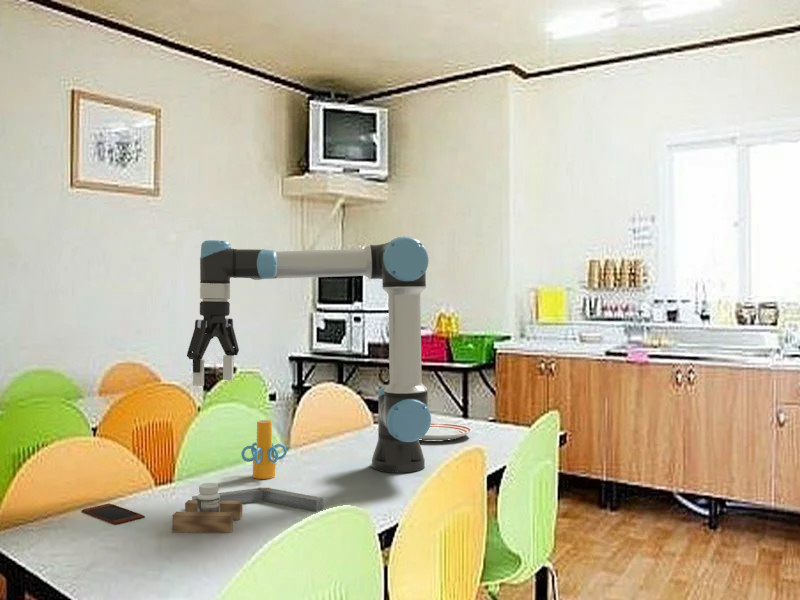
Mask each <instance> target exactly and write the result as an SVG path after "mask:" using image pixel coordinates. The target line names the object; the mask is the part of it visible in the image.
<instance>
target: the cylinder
mask: <svg viewBox="0 0 800 600" xmlns="http://www.w3.org/2000/svg"><path fill="white" fill-rule="evenodd" d="M277 448H282V449H283V453H282V455H280V456H279V451H278V449H277ZM249 449H250V453H251V455H252V457H251V458H248V457H246V456H245V452H246V451H247V450H249ZM287 451H288V449H287V447H286V445H284V444H283V443H276V444H275V445H274V443H273V420H271V419H270V420H269V419H260V420H256V442H253V443H252V444H251V445H246V446H245V447H244V448H242V451H241V458H242V460H244V461H245V462H252V477H253V478H254V479H257V480H269V479H273V478H275V476H276V464H277V462H278V460H282V459H284V458H285V457H286V455H287Z"/></svg>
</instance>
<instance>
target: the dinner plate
mask: <svg viewBox="0 0 800 600" xmlns="http://www.w3.org/2000/svg"><path fill="white" fill-rule="evenodd" d="M430 427H440V428H450V429H455V430H458V431H459V432H460V434H453V435H424V436H423V437H422V438H421V439H422V440H448V439H455V438H457V439H459V438H461V437H464V436H467V435H468V434H471V432H472V431H473V429H472V427H470V426H466V425H464V424H463V425H462V424H457V423H456V424H455V423H445V422H444V423H443V422H431V425H430ZM455 440H456V439H455Z"/></svg>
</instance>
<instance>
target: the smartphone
mask: <svg viewBox="0 0 800 600" xmlns="http://www.w3.org/2000/svg"><path fill="white" fill-rule="evenodd" d="M81 513H84V514H86V515H87V516H90V515H91V517H92V518H96V519H98V520H101V521H103V522H106V523H108V524H110V525H114V526H118V525H123V524H126V523H130V522H131V523H132V522H135V521H138V520H142V519H145V518H146V516H145V515H143V514H142V513H139V512H136V511H133V510H131V509H127V508H124V507H122V506H119V505H116V504H113V503H104V504H100V505H96V506H91V507H87V508H83V509H81Z"/></svg>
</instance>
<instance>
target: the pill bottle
mask: <svg viewBox="0 0 800 600" xmlns="http://www.w3.org/2000/svg"><path fill="white" fill-rule="evenodd" d="M198 486H199V487H198V488H199V489H198V495H197V496H198V497H197V512H220V494H219V493H220V492H219V483H216V482H205V483H201V484H200V485H198Z"/></svg>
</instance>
